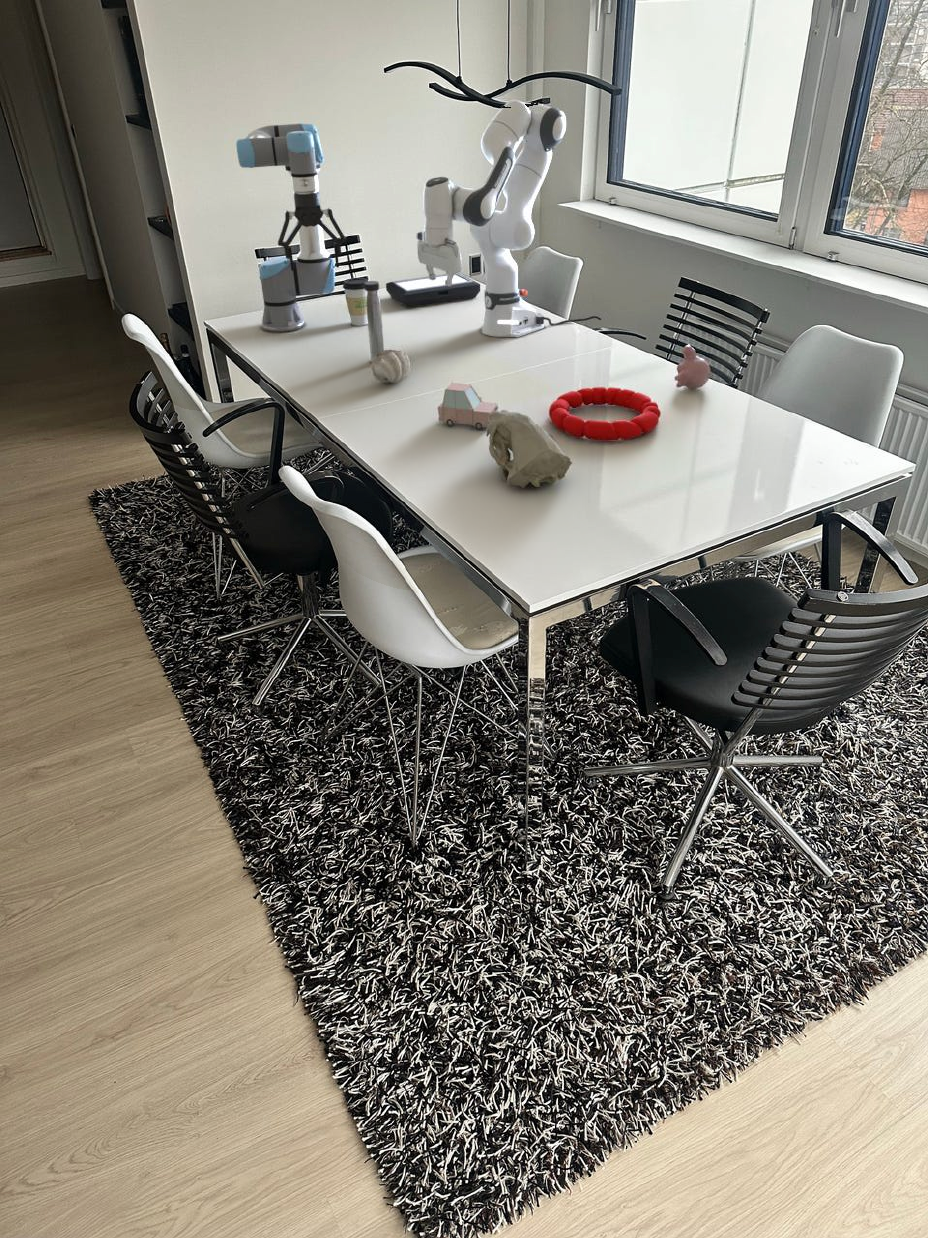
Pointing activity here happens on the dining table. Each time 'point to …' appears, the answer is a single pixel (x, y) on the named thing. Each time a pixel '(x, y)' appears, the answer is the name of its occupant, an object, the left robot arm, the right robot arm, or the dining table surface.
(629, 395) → the decorative ring
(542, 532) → the dining table surface
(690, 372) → the figurine
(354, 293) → the coffee cup
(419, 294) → the electronic device
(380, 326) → the bottle
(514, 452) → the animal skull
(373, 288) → the cap
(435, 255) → the right robot arm
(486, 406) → the toy car
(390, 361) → the seashell
